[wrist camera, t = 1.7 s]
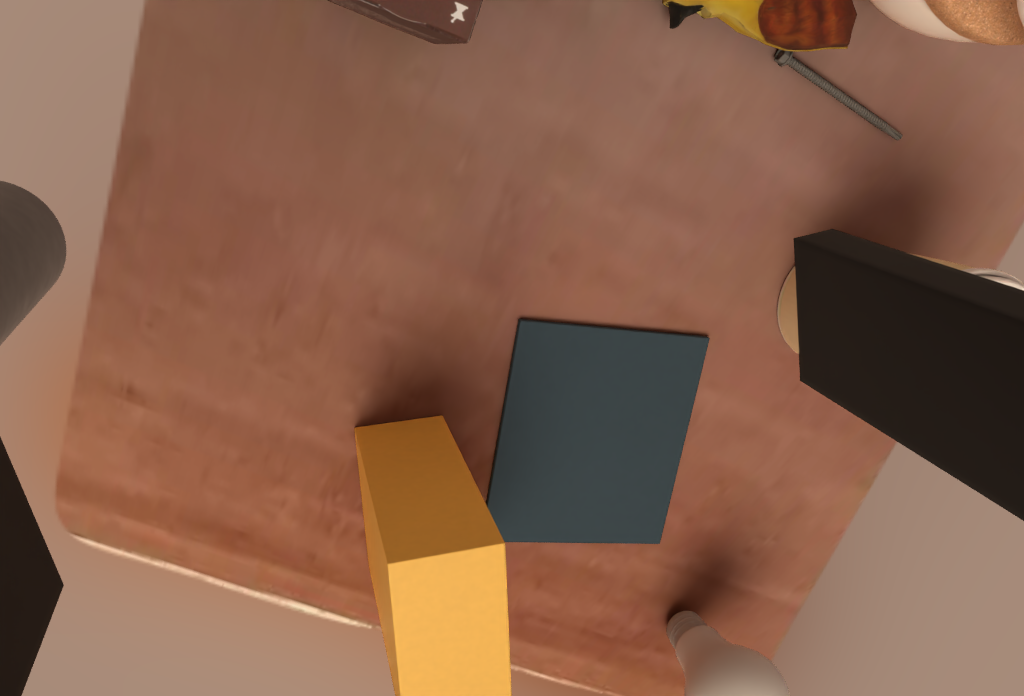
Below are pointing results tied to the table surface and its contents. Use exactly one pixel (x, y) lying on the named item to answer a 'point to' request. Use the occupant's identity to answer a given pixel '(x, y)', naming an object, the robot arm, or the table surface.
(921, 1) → the lidded bowl
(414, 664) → the cereal box
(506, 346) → the table surface
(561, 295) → the table surface
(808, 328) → the robot arm
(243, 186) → the table surface
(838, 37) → the toy gun
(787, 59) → the screw
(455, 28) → the box
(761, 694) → the lightbulb
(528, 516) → the slate mat
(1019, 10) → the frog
